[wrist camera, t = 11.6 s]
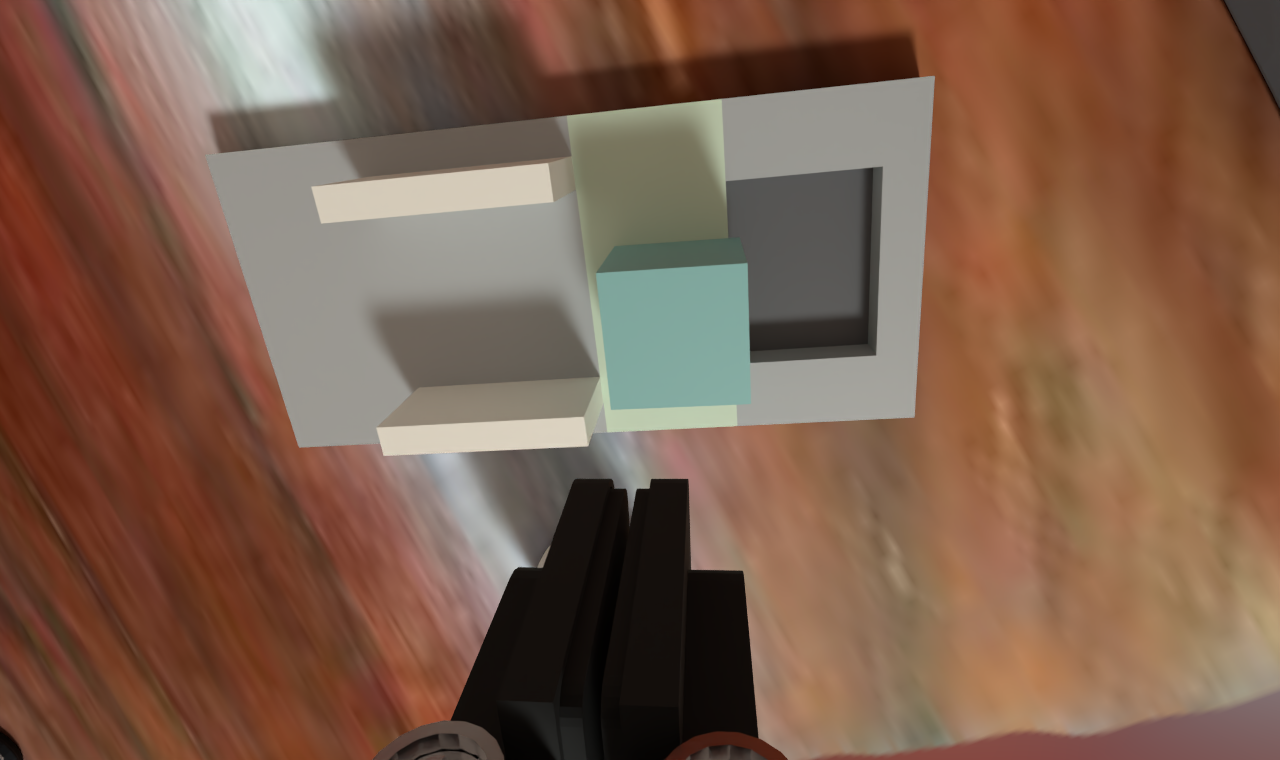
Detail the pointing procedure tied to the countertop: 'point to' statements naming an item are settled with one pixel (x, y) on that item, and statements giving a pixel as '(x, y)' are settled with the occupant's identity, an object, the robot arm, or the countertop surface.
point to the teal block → (676, 324)
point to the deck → (583, 264)
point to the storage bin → (1261, 36)
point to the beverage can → (8, 749)
